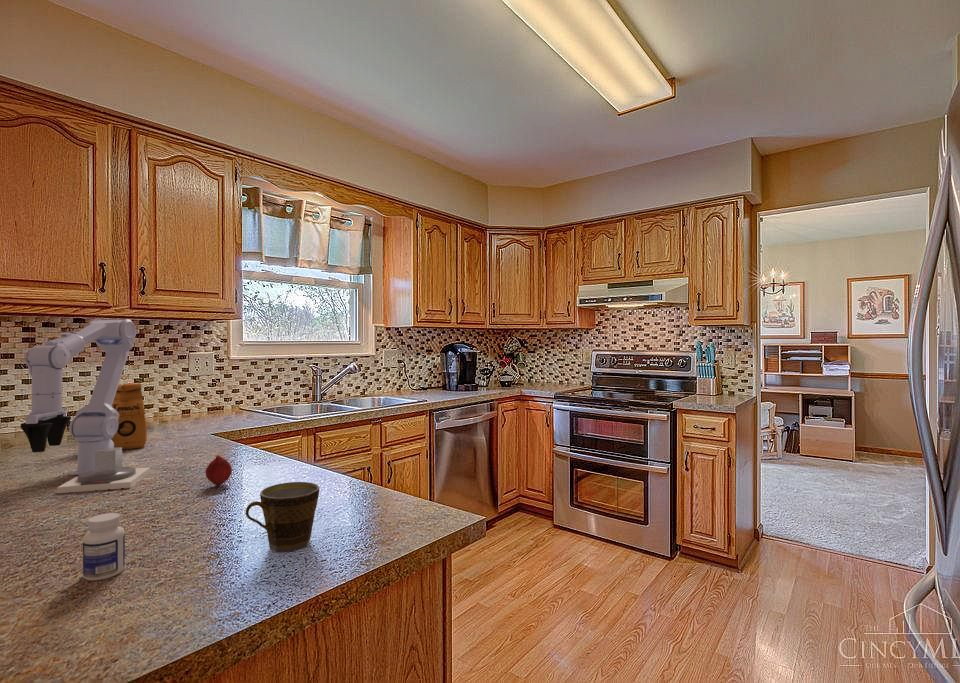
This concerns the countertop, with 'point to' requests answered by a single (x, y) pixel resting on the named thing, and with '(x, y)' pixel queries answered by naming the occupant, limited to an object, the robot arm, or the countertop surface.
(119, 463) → the block
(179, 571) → the countertop surface
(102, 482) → the kitchen scale
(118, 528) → the pill bottle
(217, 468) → the onion
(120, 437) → the coffee package
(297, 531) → the ceramic cup
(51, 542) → the countertop surface
